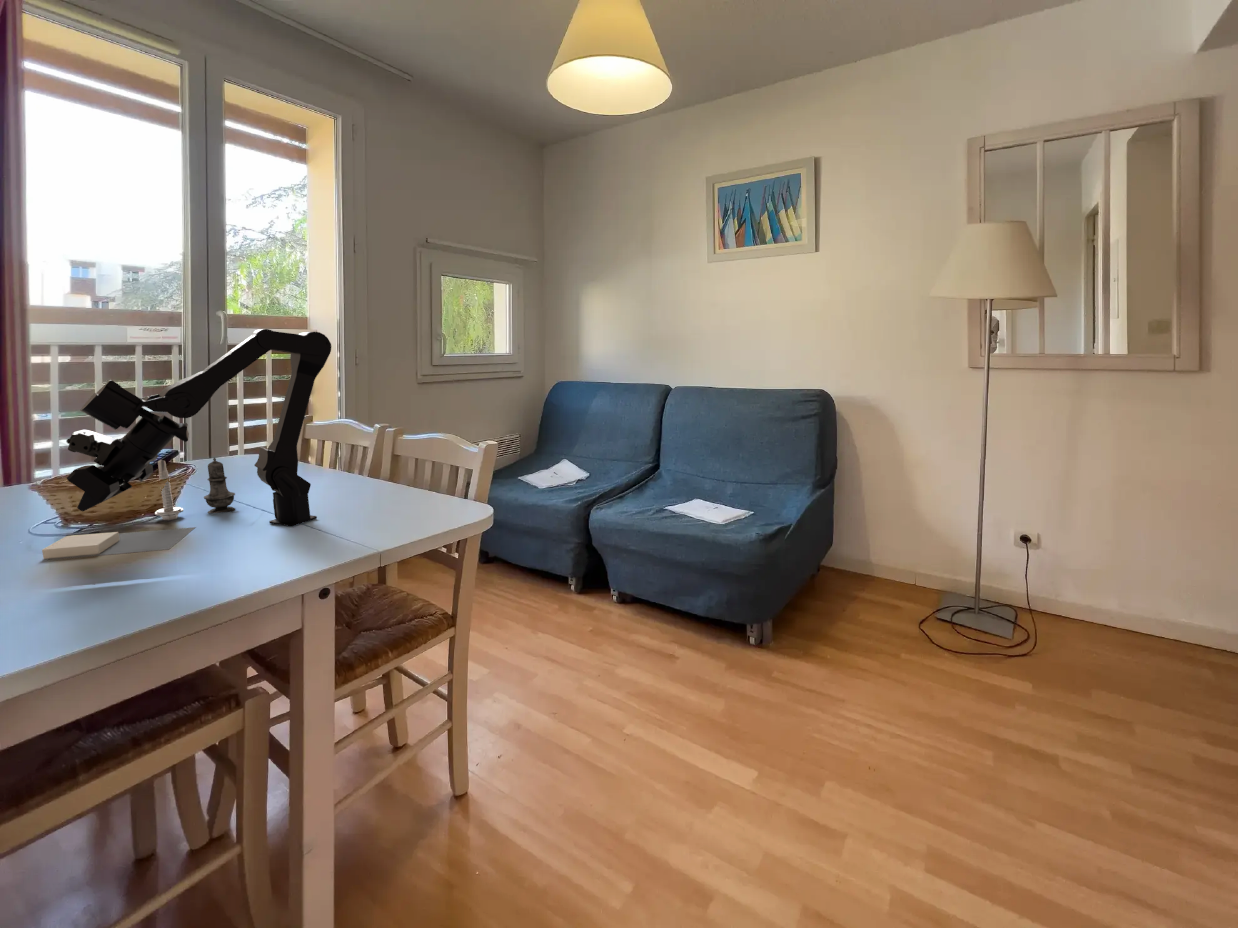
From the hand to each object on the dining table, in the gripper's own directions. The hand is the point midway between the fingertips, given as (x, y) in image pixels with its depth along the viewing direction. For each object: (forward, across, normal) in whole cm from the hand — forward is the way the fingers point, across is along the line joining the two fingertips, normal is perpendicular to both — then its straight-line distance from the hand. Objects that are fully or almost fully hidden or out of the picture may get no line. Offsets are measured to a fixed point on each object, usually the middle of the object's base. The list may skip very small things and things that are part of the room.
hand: (80, 509), depth 113 cm
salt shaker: (-5, -23, +16) cm, 29 cm away
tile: (+2, 0, +7) cm, 7 cm away
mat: (+2, -2, +9) cm, 10 cm away
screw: (+1, -18, +10) cm, 21 cm away
